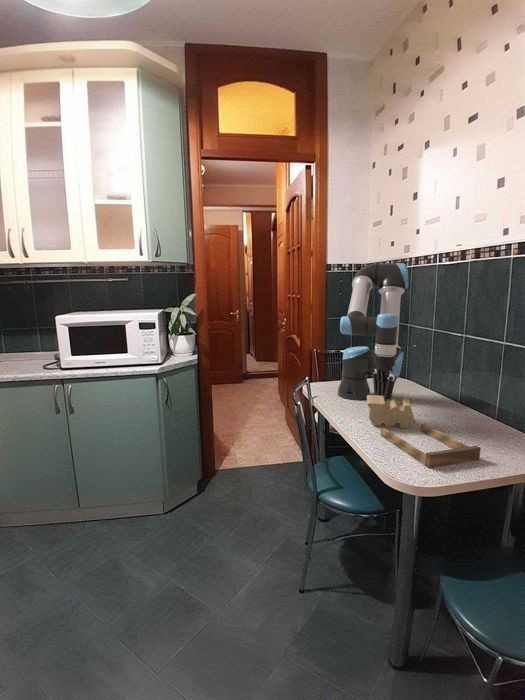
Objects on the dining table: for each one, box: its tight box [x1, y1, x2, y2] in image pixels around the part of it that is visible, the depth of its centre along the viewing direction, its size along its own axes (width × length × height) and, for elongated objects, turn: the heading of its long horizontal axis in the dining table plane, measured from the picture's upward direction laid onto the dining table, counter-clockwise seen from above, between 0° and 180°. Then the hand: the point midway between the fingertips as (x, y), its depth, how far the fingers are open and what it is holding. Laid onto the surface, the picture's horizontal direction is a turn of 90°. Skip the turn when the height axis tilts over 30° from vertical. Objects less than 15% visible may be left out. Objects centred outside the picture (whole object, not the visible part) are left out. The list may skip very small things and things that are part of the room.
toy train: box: [366, 394, 416, 429], centre depth 129 cm, size 6×17×10 cm, turn 77°
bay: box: [379, 423, 482, 469], centre depth 112 cm, size 24×18×4 cm
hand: (381, 414), depth 136 cm, fingers closed
